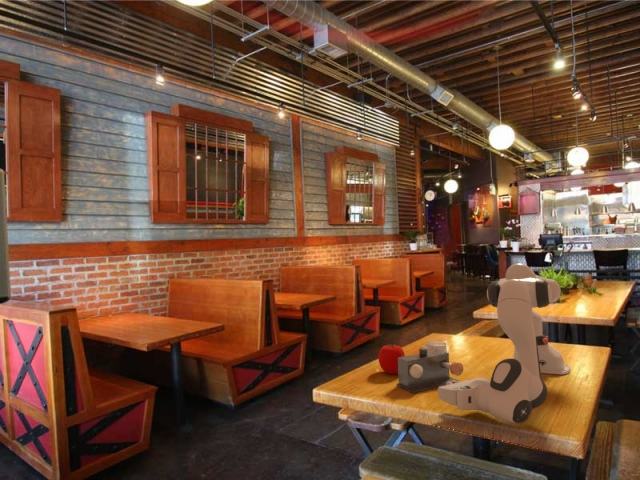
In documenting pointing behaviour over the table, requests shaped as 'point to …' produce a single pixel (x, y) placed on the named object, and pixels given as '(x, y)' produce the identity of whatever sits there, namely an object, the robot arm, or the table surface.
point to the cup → (436, 346)
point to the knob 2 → (453, 367)
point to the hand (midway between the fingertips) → (449, 383)
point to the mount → (424, 371)
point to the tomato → (390, 358)
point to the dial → (423, 351)
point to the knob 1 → (416, 371)
